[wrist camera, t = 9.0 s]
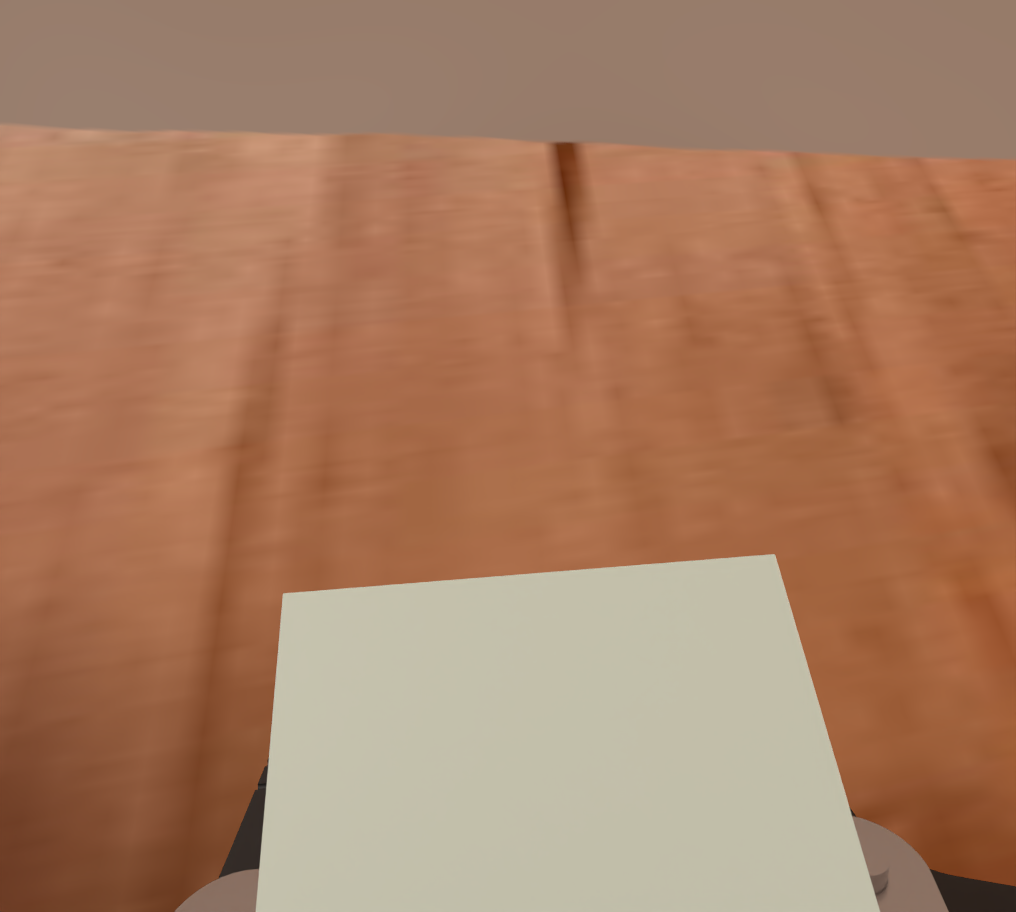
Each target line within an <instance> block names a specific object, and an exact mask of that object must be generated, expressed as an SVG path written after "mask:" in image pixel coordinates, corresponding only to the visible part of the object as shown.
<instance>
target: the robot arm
mask: <svg viewBox="0 0 1016 912" xmlns="http://www.w3.org/2000/svg"><path fill="white" fill-rule="evenodd" d="M268 763H269V759H268ZM267 774H268V765H267V766H265V768H264V771H263V773H262V775H261V778H260V780H259V783H258V790H255V792H254V795H253V797H252V799H251V802H250V804H249V807H248V809H247V811H246V814H245V816H244V819H243V821H242V823H241V826H240V828H239V831H238V833H237V835H236V838H235V840H234V843H233V845H232V847H231V850H230V852H229V855H228V857H227V860H226V862H225V864H224V867H223V869H222V872H221V874H220V876H219V879H217V880H215V881H213V882H211V883H209V884H207V885H206V886H204V887H203V888H201V889H199V890H198V891H197V892H195V893H194V894H193V895H191V896H190V897H189V898H188V899H186V900H185V901H184V902H183V903H182V904H181V905H180V906H179V907H178V908H177V909H176V910H175V912H256V902H257V890H258V879H259V867H260V855H261V844H262V832H263V821H264V809H265V797H266V786H267ZM849 808H850V807H849ZM850 811H851V815H852V818H853V821H854V825H855V828H856V831H857V835H858V838H859V842H860V845H861V848H862V852H863V855H864V859H865V862H866V865H867V869H868V872H869V876H870V879H871V882H872V886H873V889H874V893H875V896H876V899H877V903H878V906H879V910H880V912H1016V887H1015V886H1010V885H1004V884H998V883H992V882H986V881H981V880H975V879H969V878H963V877H957V876H953V875H948V874H944V873H940V872H937V871H934V870H931V869H929V868H928V866H927V864H926V863H925V861H924V860H923V859H922V858H921V856H920V855H919V854H918V853H917V852H916V851H915V850H914V849H913V848H912V847H911V846H910V845H909V844H908V843H907V842H905V841H904V840H903V839H901V838H900V837H899V836H897V835H896V834H894V833H893V832H891V831H889V830H888V829H886V828H884V827H882V826H880V825H878V824H876V823H873V822H870V821H868V820H865V819H862V818H858V817H856V816H855V814H854V813H853V811H852V810H851V809H850Z"/></svg>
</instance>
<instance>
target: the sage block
mask: <svg viewBox="0 0 1016 912" xmlns="http://www.w3.org/2000/svg"><path fill="white" fill-rule="evenodd" d="M256 912H880V910H879V906H878V903H877V899H876V896H875V893H874V889H873V886H872V882H871V879H870V876H869V872H868V869H867V865H866V862H865V859H864V855H863V852H862V848H861V845H860V842H859V838H858V835H857V831H856V828H855V825H854V821H853V818H852V815H851V811H850V808H849V804H848V801H847V798H846V794H845V791H844V787H843V784H842V781H841V777H840V774H839V770H838V767H837V764H836V760H835V757H834V753H833V750H832V747H831V743H830V740H829V736H828V733H827V730H826V726H825V723H824V719H823V716H822V713H821V709H820V706H819V703H818V699H817V696H816V692H815V689H814V686H813V682H812V679H811V675H810V672H809V669H808V665H807V662H806V658H805V655H804V652H803V648H802V645H801V641H800V638H799V635H798V631H797V628H796V624H795V621H794V618H793V614H792V611H791V608H790V604H789V601H788V597H787V594H786V591H785V587H784V584H783V580H782V577H781V574H780V570H779V567H778V563H777V560H776V557H775V554H772V555H759V556H747V557H734V558H722V559H709V560H697V561H684V562H672V563H659V564H647V565H634V566H622V567H609V568H597V569H584V570H572V571H559V572H547V573H534V574H522V575H509V576H497V577H484V578H472V579H459V580H447V581H434V582H422V583H409V584H397V585H384V586H372V587H359V588H347V589H334V590H322V591H309V592H297V593H284V594H283V600H282V612H281V624H280V635H279V647H278V658H277V670H276V681H275V693H274V705H273V716H272V728H271V739H270V751H269V763H268V774H267V786H266V797H265V809H264V821H263V832H262V844H261V855H260V867H259V879H258V890H257V902H256Z"/></svg>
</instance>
